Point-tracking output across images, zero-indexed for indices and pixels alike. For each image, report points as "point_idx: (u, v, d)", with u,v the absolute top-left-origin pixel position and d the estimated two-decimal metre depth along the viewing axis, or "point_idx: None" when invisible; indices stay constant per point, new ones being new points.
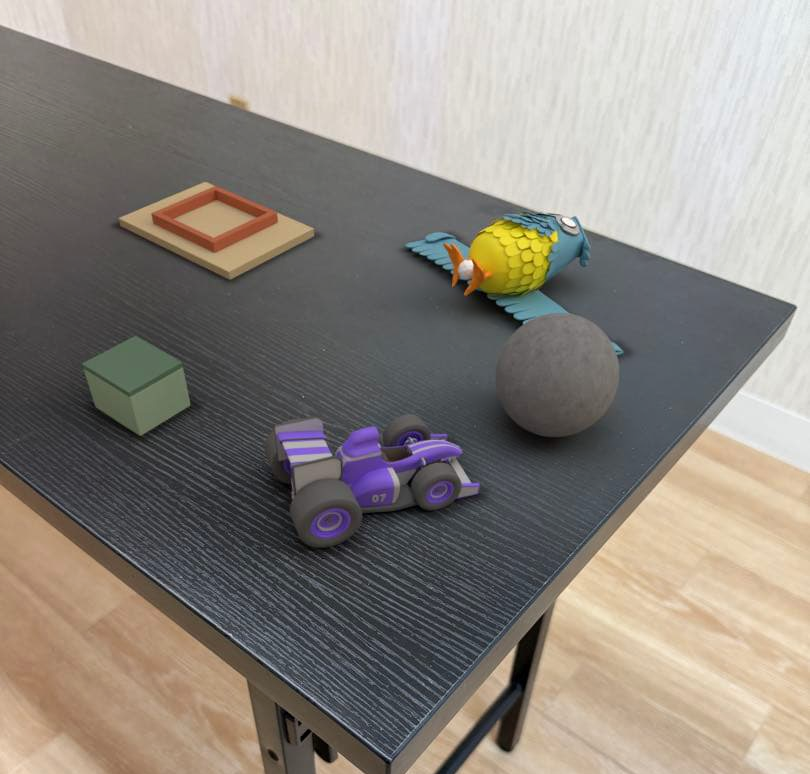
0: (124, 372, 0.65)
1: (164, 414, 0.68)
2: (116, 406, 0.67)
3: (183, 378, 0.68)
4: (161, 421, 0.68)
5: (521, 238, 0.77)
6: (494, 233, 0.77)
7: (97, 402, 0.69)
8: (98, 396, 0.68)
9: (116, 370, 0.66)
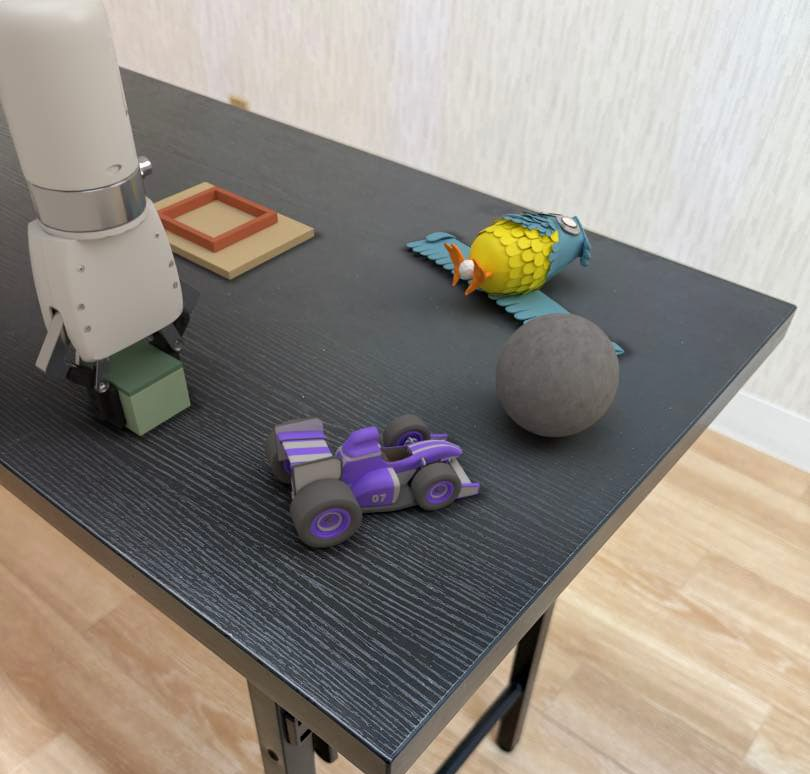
0: (124, 372, 0.65)
1: (164, 414, 0.68)
2: None
3: (183, 378, 0.68)
4: (161, 421, 0.68)
5: (522, 238, 0.77)
6: (495, 233, 0.77)
7: None
8: None
9: (116, 370, 0.66)
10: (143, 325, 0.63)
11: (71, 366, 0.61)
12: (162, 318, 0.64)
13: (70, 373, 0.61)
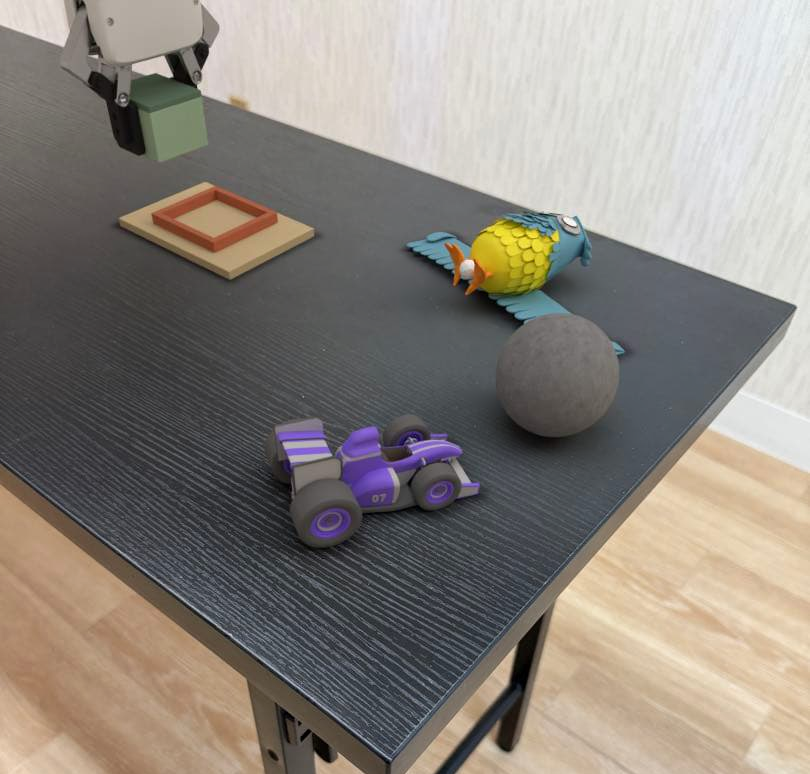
0: (144, 94, 0.67)
1: (182, 146, 0.69)
2: None
3: (201, 110, 0.69)
4: (179, 153, 0.70)
5: (522, 238, 0.77)
6: (495, 233, 0.77)
7: None
8: None
9: (137, 93, 0.67)
10: (164, 36, 0.64)
11: (93, 70, 0.63)
12: (182, 36, 0.65)
13: (92, 76, 0.63)
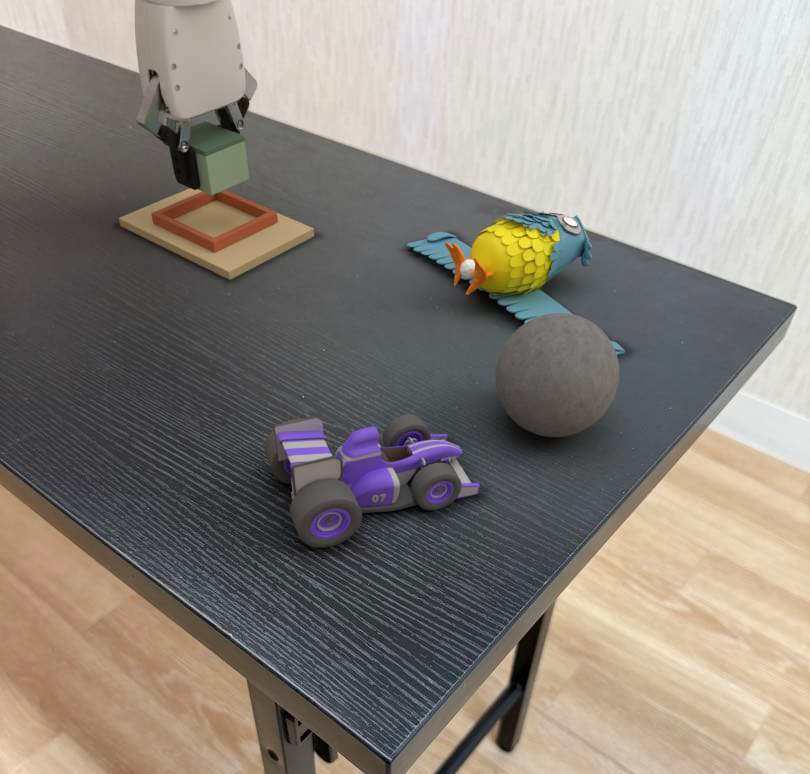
0: (200, 141, 0.83)
1: (229, 180, 0.86)
2: None
3: (244, 151, 0.85)
4: (227, 186, 0.86)
5: (523, 237, 0.77)
6: (496, 232, 0.77)
7: None
8: None
9: (193, 139, 0.83)
10: (216, 96, 0.80)
11: (162, 124, 0.79)
12: (230, 94, 0.82)
13: (161, 129, 0.79)
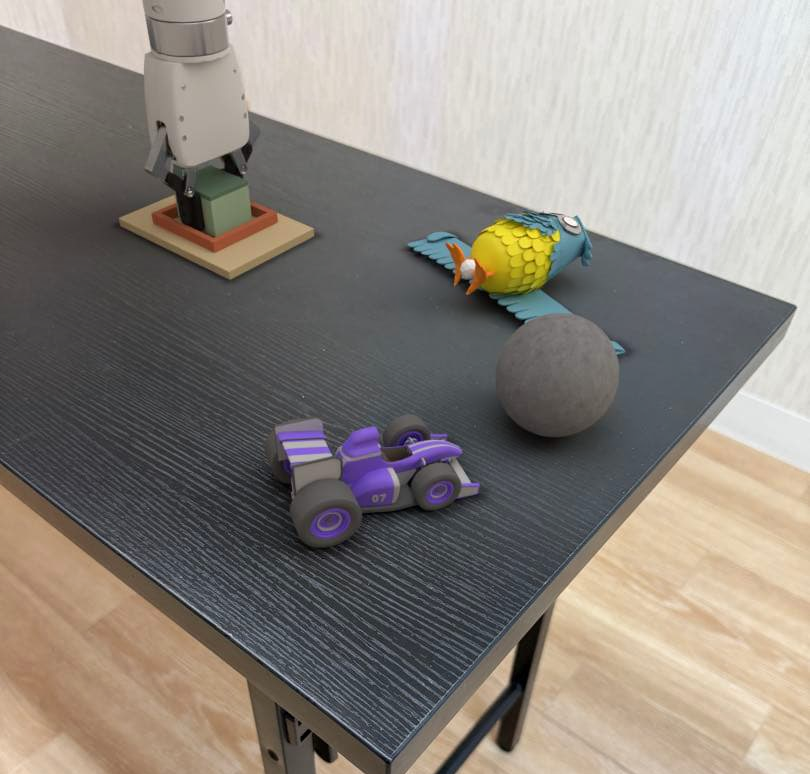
0: (205, 185, 0.86)
1: (233, 223, 0.89)
2: None
3: (248, 195, 0.89)
4: (231, 228, 0.89)
5: (523, 237, 0.77)
6: (496, 232, 0.77)
7: None
8: None
9: (198, 184, 0.87)
10: (221, 144, 0.84)
11: (169, 171, 0.82)
12: (234, 142, 0.85)
13: (168, 176, 0.82)
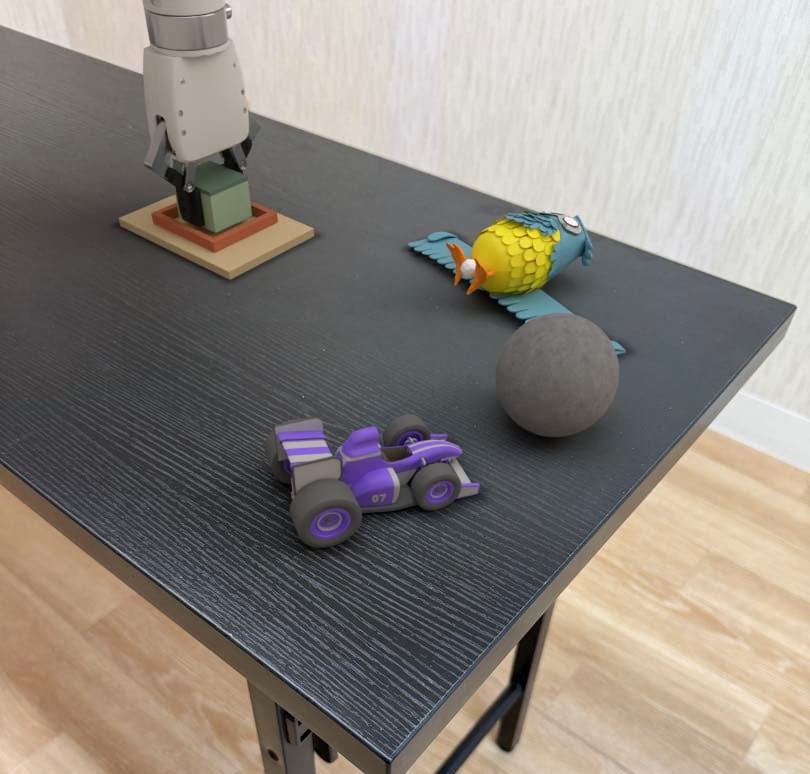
0: (204, 181, 0.86)
1: (233, 218, 0.89)
2: None
3: (247, 190, 0.88)
4: (230, 224, 0.89)
5: (523, 237, 0.77)
6: (496, 232, 0.77)
7: None
8: None
9: (198, 179, 0.86)
10: (221, 139, 0.83)
11: (168, 166, 0.82)
12: (234, 136, 0.85)
13: (168, 171, 0.82)
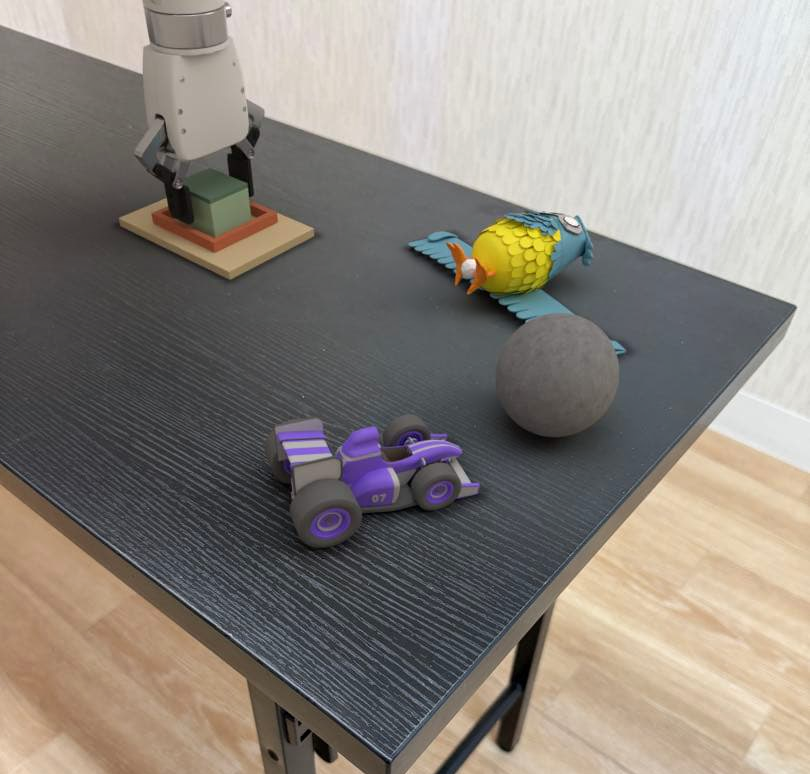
0: (204, 188, 0.87)
1: (233, 225, 0.89)
2: (197, 217, 0.88)
3: (247, 197, 0.89)
4: None
5: (524, 237, 0.77)
6: (497, 232, 0.77)
7: None
8: None
9: (198, 187, 0.87)
10: (221, 137, 0.83)
11: (158, 162, 0.81)
12: (234, 135, 0.84)
13: (157, 166, 0.81)
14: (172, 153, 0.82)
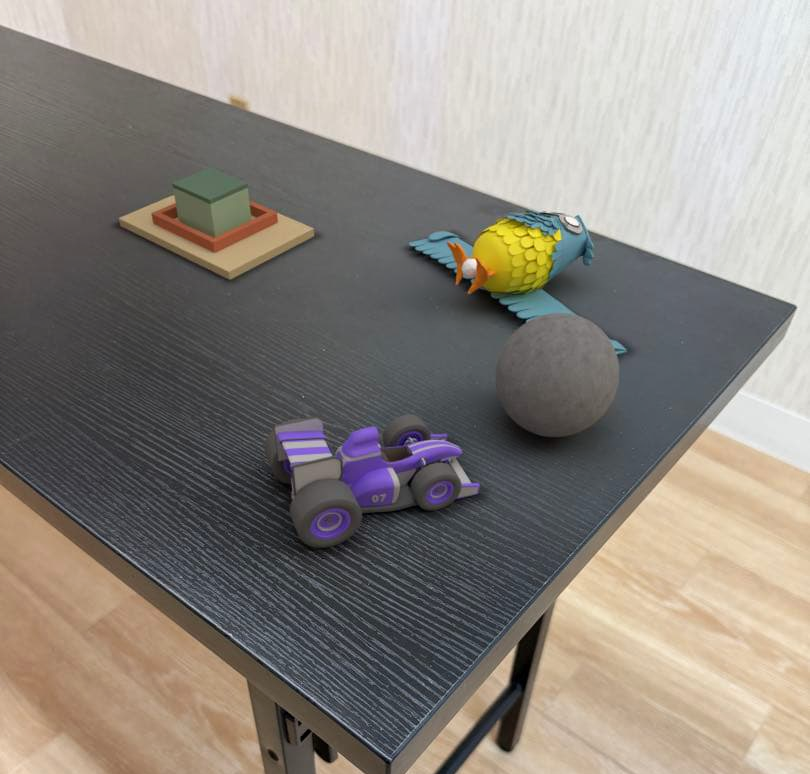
0: (204, 188, 0.87)
1: (233, 225, 0.89)
2: (197, 217, 0.88)
3: (247, 197, 0.89)
4: None
5: (524, 237, 0.77)
6: (498, 232, 0.77)
7: (181, 218, 0.90)
8: (182, 211, 0.89)
9: (198, 187, 0.87)
10: None
11: None
12: None
13: None
14: None
